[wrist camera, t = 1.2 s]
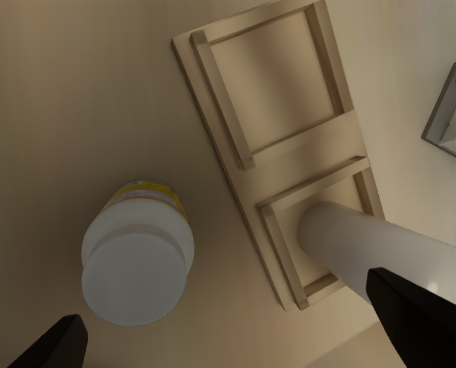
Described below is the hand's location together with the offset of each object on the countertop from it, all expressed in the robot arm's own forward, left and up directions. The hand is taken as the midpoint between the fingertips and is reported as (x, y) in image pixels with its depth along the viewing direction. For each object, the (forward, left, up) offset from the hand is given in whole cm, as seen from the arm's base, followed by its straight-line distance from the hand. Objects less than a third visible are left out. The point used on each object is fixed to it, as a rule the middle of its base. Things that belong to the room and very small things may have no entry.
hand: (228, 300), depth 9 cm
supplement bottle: (-3, +1, -13) cm, 13 cm away
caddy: (+9, 0, -13) cm, 16 cm away
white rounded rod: (+9, -6, -11) cm, 16 cm away
